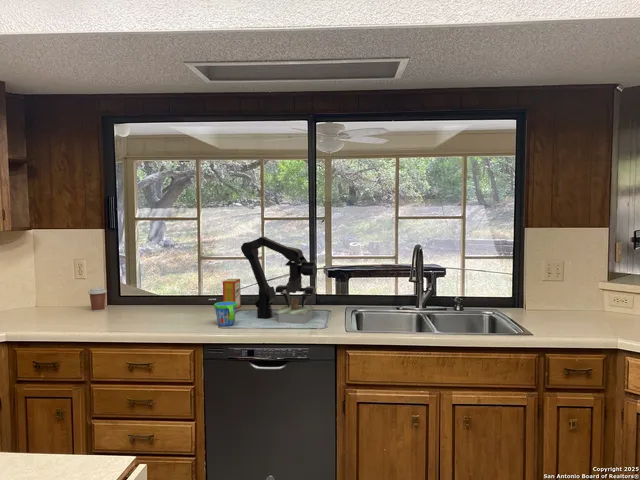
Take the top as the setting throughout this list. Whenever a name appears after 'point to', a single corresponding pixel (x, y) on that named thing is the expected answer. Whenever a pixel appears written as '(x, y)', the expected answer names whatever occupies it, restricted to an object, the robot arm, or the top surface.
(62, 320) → the top surface
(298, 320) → the bin
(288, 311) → the lid
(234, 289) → the baking soda box
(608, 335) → the top surface
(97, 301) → the coffee cup
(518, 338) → the top surface
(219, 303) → the snack cup
